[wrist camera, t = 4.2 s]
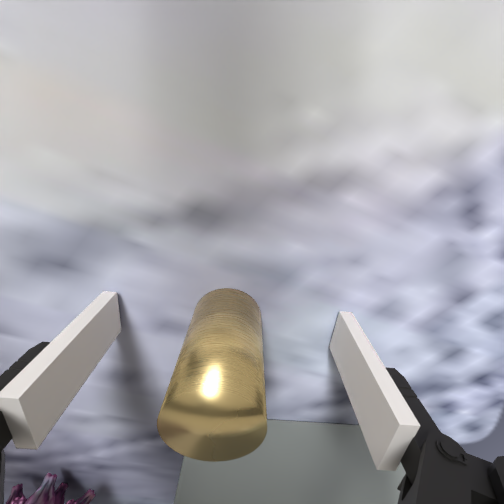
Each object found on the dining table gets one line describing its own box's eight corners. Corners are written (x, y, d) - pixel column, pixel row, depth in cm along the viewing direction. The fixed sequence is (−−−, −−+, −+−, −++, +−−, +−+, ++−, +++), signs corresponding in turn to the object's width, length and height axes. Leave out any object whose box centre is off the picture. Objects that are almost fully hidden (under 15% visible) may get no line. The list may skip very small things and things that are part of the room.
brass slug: (194, 340, 16) (159, 458, 10) (194, 285, 14) (154, 386, 8) (257, 345, 16) (260, 464, 10) (264, 291, 14) (274, 394, 8)
